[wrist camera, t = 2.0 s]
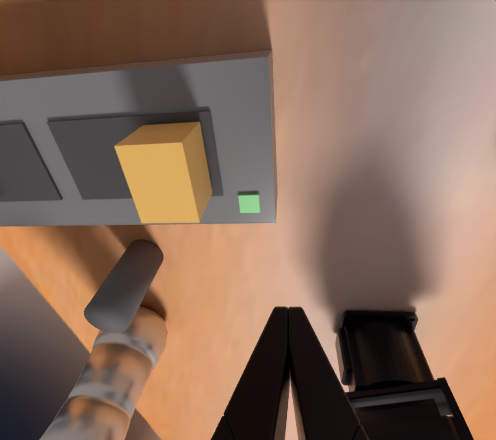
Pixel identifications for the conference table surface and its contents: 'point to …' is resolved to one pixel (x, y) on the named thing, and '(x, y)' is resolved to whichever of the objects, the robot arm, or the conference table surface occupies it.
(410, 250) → the conference table surface
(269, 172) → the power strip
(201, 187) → the toggle amber
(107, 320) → the cylinder
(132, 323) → the plastic bottle
